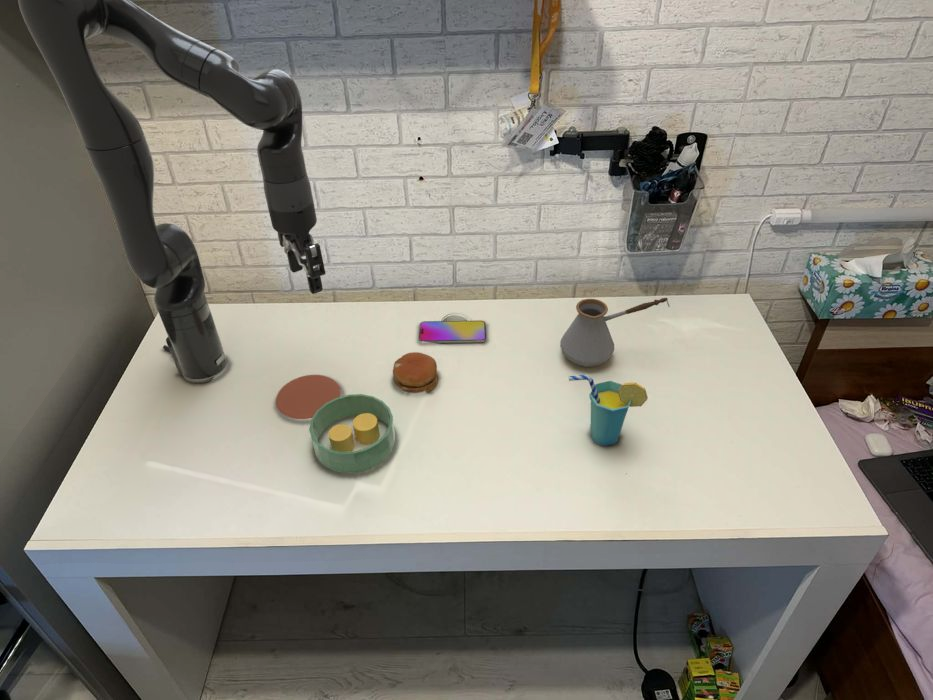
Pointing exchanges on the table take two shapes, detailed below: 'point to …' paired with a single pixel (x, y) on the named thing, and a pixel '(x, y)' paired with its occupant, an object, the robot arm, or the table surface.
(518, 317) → the table surface
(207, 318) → the robot arm
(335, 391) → the plate
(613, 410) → the cup
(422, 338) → the smartphone
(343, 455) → the green bowl
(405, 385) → the burger
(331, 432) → the yellow cylinder
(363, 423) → the yellow short cylinder
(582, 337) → the coffee pot
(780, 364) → the table surface
